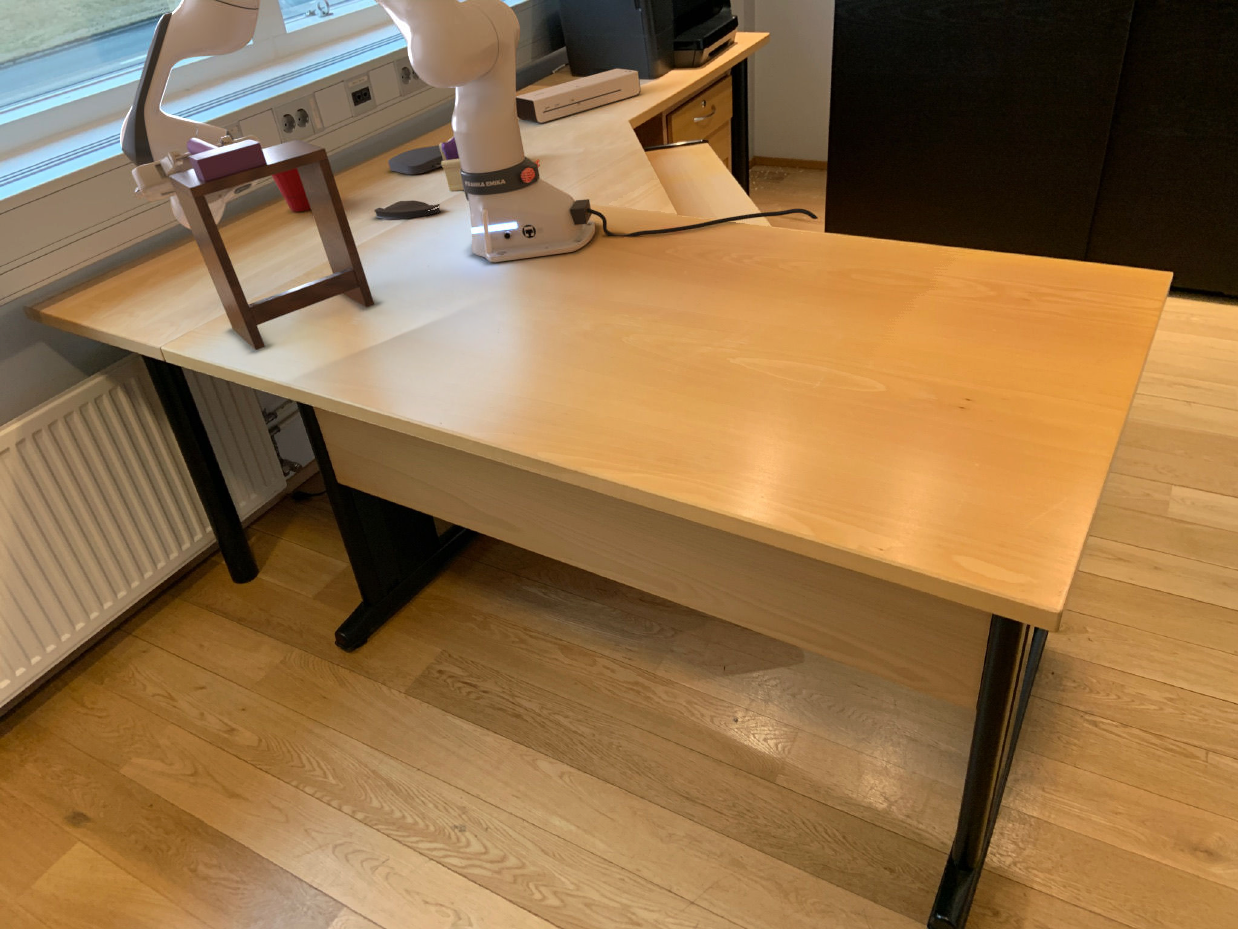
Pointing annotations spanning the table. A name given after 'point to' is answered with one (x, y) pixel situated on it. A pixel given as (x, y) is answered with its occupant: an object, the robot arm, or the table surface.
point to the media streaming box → (417, 160)
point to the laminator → (578, 95)
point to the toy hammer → (224, 158)
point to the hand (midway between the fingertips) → (201, 147)
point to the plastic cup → (292, 190)
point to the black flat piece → (406, 210)
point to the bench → (327, 219)
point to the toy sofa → (451, 164)
